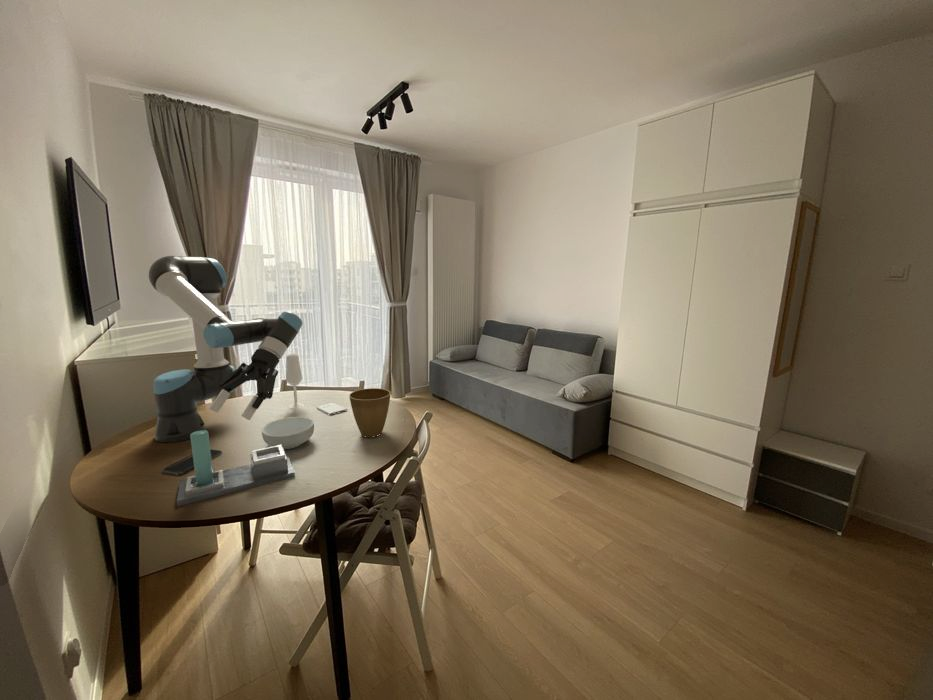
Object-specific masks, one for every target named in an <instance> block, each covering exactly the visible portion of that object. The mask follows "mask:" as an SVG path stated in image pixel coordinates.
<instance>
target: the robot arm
mask: <svg viewBox="0 0 933 700" xmlns="http://www.w3.org/2000/svg"><path fill="white" fill-rule="evenodd" d="M148 280H149V282H150V284H151V286H152V287H153V289H155V290H156V291H157V293H159V294H160V295H161V296H165V297H167V298H169V299H170V300H171V301H173V303H174V304H176V305H177V306H178V307H179V308H180V309H181V310H182V311H183V312H184V313H185V314H187V315H188V316H189V318H190V319H192V327H193V336H194V342H195V343H194V344H195V350H196V357H197V361H196V362H195V363H194V365H193V369H194V370H193V371H192V369H187V368H186V369H184V368H183V369H182V368H181V369H178V370H176V369H175V370H171V371H167V372H165V373H162V374H160V375H158V376H156V377H155V378H154V379H153V381H152V382H153V384H152V386H153V390H152V393H153V395H154V401H155V406H156V414H157V420H156V424H155V429H154V433H153V434H154V435H153V436H154V440H155V441H156V442H158V441H159V442H158V443H164V442H168V443H177V442H181V441H182V442H183V441H187V440H191V438H190V434H191V433H193V432H196V431H201V430H206V424H205V422H204V420H203V419H202V416H201V415H200V413H199V411H198V405H197V403H200V402H204V401H207V400H212V399H214V401H213V402H212V403H211V405H210V406H209V408H208V409H209V410H211V411H213V412H215V413H217V414H218V413H219V412H220V410H221V408H222V407H223V406H224V404H225V403H226V401H227V400H228V399H229V397H230V396H231V394H232V392H234V391H235V389H236V388H238V387H240V386H242V385H243V384H245V383H246V382H249V381H256V393H255V395H253V396H252V398H251V400H250V401H249V403H248V404H247V406H246V407H245V409H244V411H243V412H242V414H241V415H240V416H241V417H243V418H244V419H246V420H249V421H251V419H252V418H253V416H254V414H255V413H256V411H257V410H258V409H259V408H260V407H261V405H262V403H263V401H265V400H267V399H269V400H270V399H272V398H273V395H274V388H275V383H276V379H277V376H278V374H279V370H277V369H276V367H277V366H278V365H279V363H280V360H281V359H282V358H283V357H284V355H285V353H286V352H287V350H288V349H289V347H290V346H291V344H292V342H293V341H294V340H295V338H296V337H297V335H298V334H299V332H300V330H301V328H302V326H303V320H302V319H301V317H299V316H298V314H295V313H293V312H292V311H283V312H281V313H280V314H279V315H278V317H277V318H262V317H260V318H259V317H258V318H252V319H248V320H239V321H233V320H232V319H230V317H228V316H227V315H226V314H225V313H224V312H222V311H221V309H219V304H218V297H219V296H220V295H221V294H222V290H221V289H223V288H225V287H226V285H227V284H226V283H227V274H226V271H225V269H224V267H223V265H222V264H221V263H220V262H219V261H218V260H217V259H215V258H211V257H205V256H182V255H181V256H180V255H179V256H176V255H167V256H163V257H160V258H157V260H155V261H154V262H153V263H152V264H151V266H150V267H149V270H148ZM258 342H259V343H260V342H261V343H260V344H259V345H258V347H257V349H256V350H255V351H254V352H253V354H252V355H251V357H250V359H251V363H249V364H246V363H245V362H242V363H240V365H239V366H238V368H235V367H234V366H233V365H230V361H228V360H227V359H225V356H224V348H229V347H234V346H235V347H236V346H240V345H245V344H253V343H258ZM206 431H207V430H206Z"/></svg>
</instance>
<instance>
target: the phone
mask: <svg viewBox="0 0 933 700" xmlns="http://www.w3.org/2000/svg"><path fill="white" fill-rule="evenodd" d="M210 452H211V460H214V459H215V458H217V457H219V456H222V454H223V451H222V450H219V449H212V448H210ZM193 469H194V461H193V453H191V454H190V455H188V456H186V457H185V458H183V459H180V460H178V461H176V462H174V463H172V464H170V465H168V466H166V467H165V468H163V469H162V473H163V472H164V473H163V474H167V473H169V474H168V475H174V474H177V475H176V476H184V475H186V474H188V473H190V472H191V470H192V471H193ZM194 470H195V469H194ZM189 471H190V472H189ZM183 474H184V475H183Z"/></svg>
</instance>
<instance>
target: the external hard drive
mask: <svg viewBox="0 0 933 700" xmlns="http://www.w3.org/2000/svg"><path fill="white" fill-rule="evenodd" d="M316 408H317V410H318V409H319V410H318V411H320V410H321V411H320V412H322V411H323V412H322V413H324V412H325V414H326V413H327V414H326V415H328V414H329V415H328V416H330V415H331V414H334V413H338V412H341V413H343V412H342V411H345V410H347V411H348V409H347V408H345V407H344V406H341V405H339V404H337V403H334V402H330V403H325V404H320V405H317V406H316ZM316 408H315V409H316ZM345 412H346V411H345ZM338 414H339V413H338ZM334 415H335V414H334ZM331 416H332V415H331Z"/></svg>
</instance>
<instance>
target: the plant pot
mask: <svg viewBox="0 0 933 700" xmlns="http://www.w3.org/2000/svg"><path fill="white" fill-rule="evenodd" d="M348 397H349V402H350V406H351V410H352V413H353V417H354V421H355V424H356V426H357V428H358V431H359V433H360V435H361V436H362V437H363V436H366V437H373V436H377V435H379V434H381V435H382V433H383V431H384V427H385V424H386V420H387V417H388V413H389V407H390V401H391V400H390V399H391V391H390V390H388V389H385V388H378V387H376V388H374V387H372V388H362V389H357V390H354V391H352V392H350V393H349V395H348ZM379 436H380V435H379ZM366 437H365V438H366ZM377 437H378V436H377ZM373 438H374V437H373Z"/></svg>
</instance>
